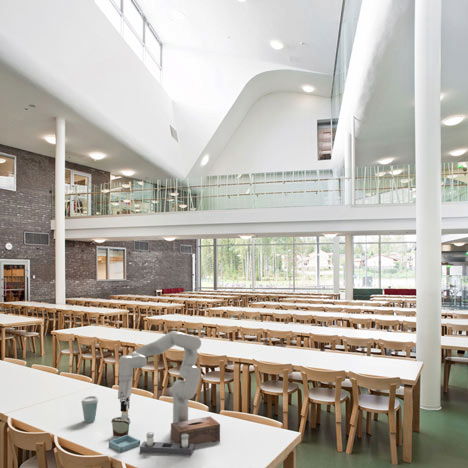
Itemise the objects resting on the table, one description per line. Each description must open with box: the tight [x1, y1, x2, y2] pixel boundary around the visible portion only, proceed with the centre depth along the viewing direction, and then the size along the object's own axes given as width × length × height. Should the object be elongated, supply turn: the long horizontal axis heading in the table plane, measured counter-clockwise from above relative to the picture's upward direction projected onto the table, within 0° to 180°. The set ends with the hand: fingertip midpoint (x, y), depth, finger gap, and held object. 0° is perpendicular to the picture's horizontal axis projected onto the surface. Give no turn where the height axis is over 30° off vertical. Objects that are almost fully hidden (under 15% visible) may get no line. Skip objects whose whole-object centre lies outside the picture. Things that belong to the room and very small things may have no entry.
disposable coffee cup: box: [81, 395, 99, 423], centre depth 285 cm, size 11×11×15 cm
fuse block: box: [139, 441, 195, 456], centre depth 236 cm, size 29×7×4 cm, turn 83°
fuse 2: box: [181, 434, 189, 448], centre depth 235 cm, size 4×4×9 cm
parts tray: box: [108, 434, 141, 453], centre depth 244 cm, size 13×13×4 cm
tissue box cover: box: [170, 416, 221, 445], centre depth 253 cm, size 26×14×10 cm, turn 117°
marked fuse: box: [120, 401, 130, 419], centre depth 245 cm, size 4×4×9 cm
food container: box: [111, 416, 131, 438], centre depth 261 cm, size 12×6×10 cm, turn 74°
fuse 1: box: [146, 431, 155, 447], centre depth 238 cm, size 4×4×9 cm
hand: (124, 409), depth 245 cm, fingers closed on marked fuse, 4 cm apart
